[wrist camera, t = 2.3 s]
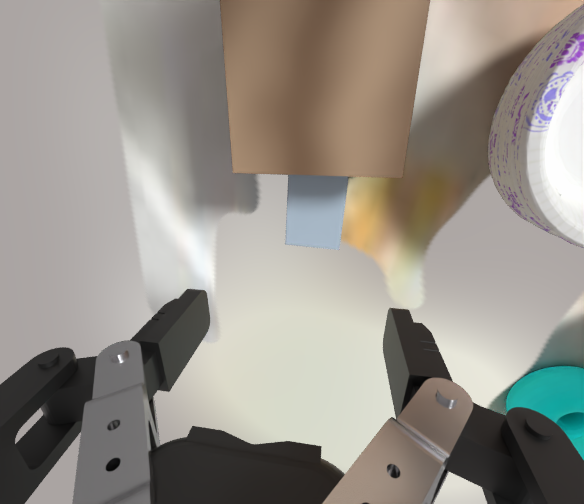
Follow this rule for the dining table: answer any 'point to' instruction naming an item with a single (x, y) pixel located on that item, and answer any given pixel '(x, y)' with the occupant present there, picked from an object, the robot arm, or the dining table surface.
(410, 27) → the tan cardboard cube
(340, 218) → the blank
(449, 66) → the dining table surface
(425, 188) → the dining table surface
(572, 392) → the turquoise spool
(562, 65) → the paper bowls
